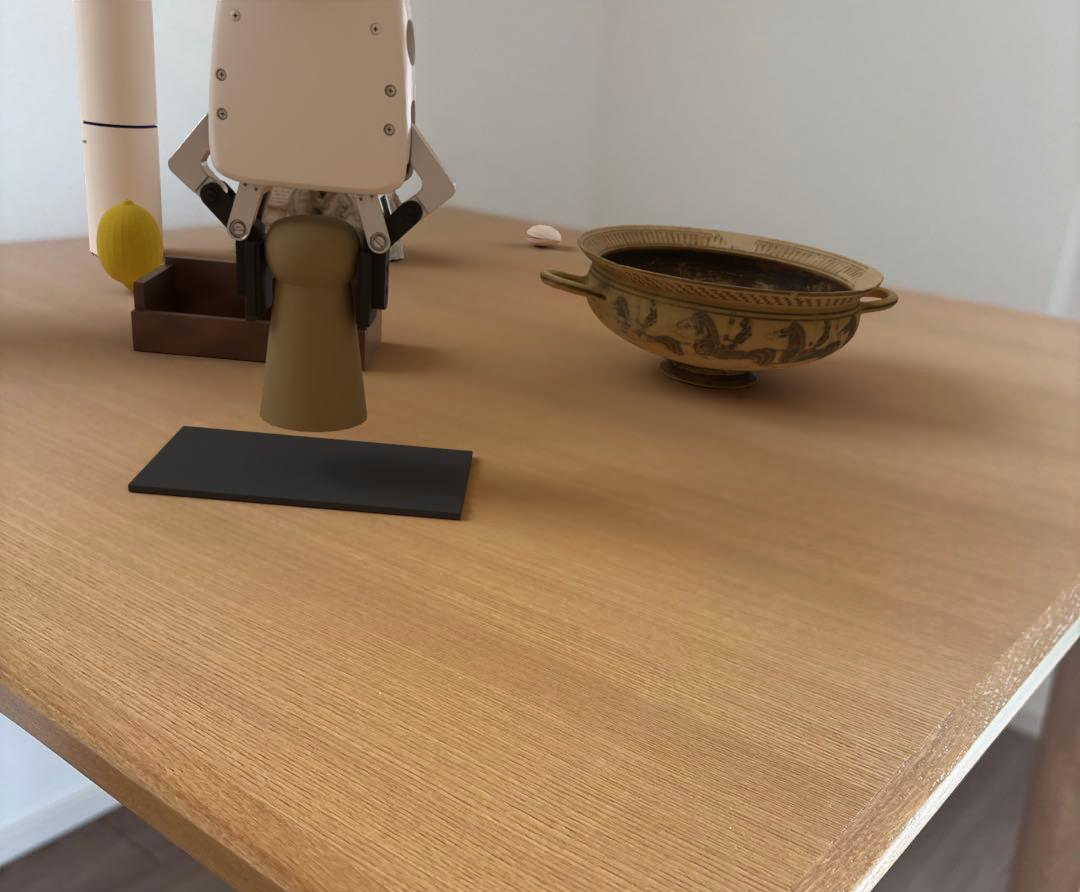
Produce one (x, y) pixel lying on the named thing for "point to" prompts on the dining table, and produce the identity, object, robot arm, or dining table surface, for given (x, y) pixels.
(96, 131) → the cylindrical container
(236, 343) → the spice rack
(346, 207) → the ceramic cottage
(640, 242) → the ceramic bowl
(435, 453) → the mat
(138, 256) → the lemon
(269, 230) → the cork
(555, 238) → the clam shell
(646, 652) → the dining table surface
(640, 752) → the dining table surface
